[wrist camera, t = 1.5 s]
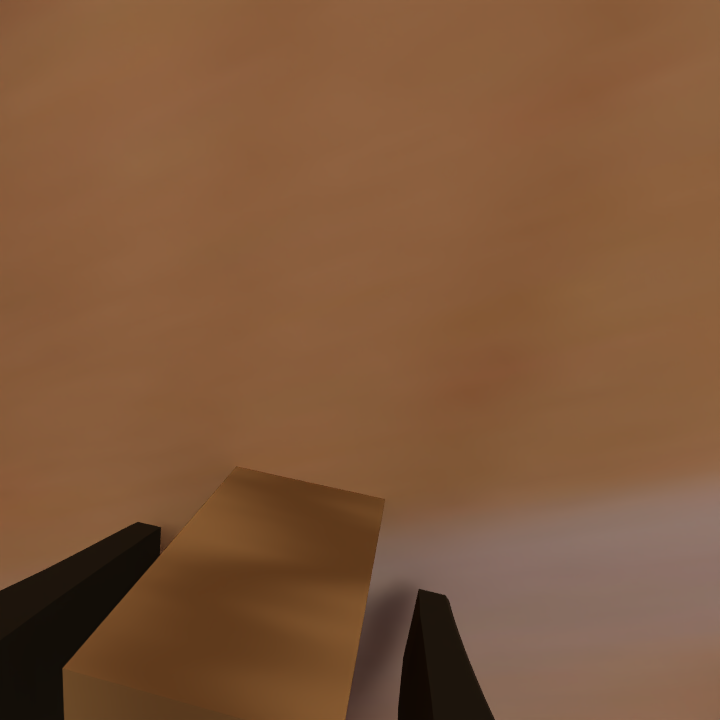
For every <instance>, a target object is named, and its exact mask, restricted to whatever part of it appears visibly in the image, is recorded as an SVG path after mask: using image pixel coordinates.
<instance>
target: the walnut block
mask: <svg viewBox="0 0 720 720" xmlns="http://www.w3.org/2000/svg"><path fill="white" fill-rule="evenodd" d="M384 503H385V499H382V498H377V497H373V496H368V495H363V494H359V493H354V492H350V491H345V490H341V489H336V488H332V487H327V486H323V485H318V484H313V483H309V482H304V481H300V480H295V479H291V478H286V477H282V476H277V475H273V474H268V473H263V472H259V471H254V470H250V469H245V468H241V467H236V468H235V469H234V470H233V471H232V473H231V474H230V475H229V476H228V477H227V478H226V479H225V481H224V482H223V483H222V484H221V485H220V486H219V488H218V489H217V490H216V491H215V492H214V493H213V495H212V496H211V497H210V498H209V499H208V500H207V501H206V503H205V504H204V505H203V506H202V507H201V508H200V510H199V511H198V512H197V513H196V514H195V515H194V517H193V518H192V519H191V520H190V521H189V522H188V524H187V525H186V526H185V527H184V528H183V529H182V530H181V532H180V533H179V534H178V535H177V536H176V537H175V539H174V540H173V541H172V542H171V543H170V544H169V546H168V547H167V548H166V549H165V550H164V551H163V552H162V554H161V555H160V556H159V557H158V558H157V559H156V561H155V562H154V563H153V564H152V565H151V566H150V568H149V569H148V570H147V571H146V572H145V573H144V575H143V576H142V577H141V578H140V579H139V580H138V581H137V583H136V584H135V585H134V586H133V587H132V588H131V590H130V591H129V592H128V593H127V594H126V595H125V597H124V598H123V599H122V600H121V601H120V602H119V603H118V605H117V606H116V607H115V608H114V609H113V610H112V612H111V613H110V614H109V615H108V616H107V617H106V619H105V620H104V621H103V622H102V623H101V624H100V625H99V627H98V628H97V629H96V630H95V631H94V632H93V634H92V635H91V636H90V637H89V638H88V639H87V641H86V642H85V643H84V644H83V645H82V646H81V648H80V649H79V650H78V651H77V652H76V653H75V654H74V656H73V657H72V658H71V659H70V660H69V661H68V663H67V664H66V665H65V666H64V667H63V668H62V669H63V698H64V720H345V717H346V712H347V706H348V701H349V695H350V690H351V684H352V679H353V673H354V668H355V662H356V657H357V651H358V646H359V640H360V635H361V629H362V624H363V618H364V613H365V607H366V602H367V596H368V591H369V585H370V580H371V574H372V569H373V563H374V558H375V552H376V547H377V541H378V536H379V530H380V525H381V519H382V514H383V508H384Z"/></svg>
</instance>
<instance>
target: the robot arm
mask: <svg viewBox="0 0 720 720" xmlns="http://www.w3.org/2000/svg"><path fill="white" fill-rule="evenodd" d="M160 535H161V527H157V526H153V525H148V524H144V523H140V522H137V523H135V524H133V525H131V526H128V527H126V528H124V529H122V530H121V531H119V532H117V533H115V534H113V535H111V536H109V537H107V538H105V539H103V540H101V541H99V542H98V543H96V544H94V545H92V546H90V547H88V548H86V549H84V550H82V551H80V552H78V553H76V554H75V555H73V556H71V557H69V558H67V559H65V560H63V561H61V562H59V563H57V564H55V565H53V566H51V567H49V568H47V569H45V570H43V571H41V572H39V573H37V574H35V575H33V576H30V577H28V578H26V579H24V580H22V581H20V582H18V583H16V584H14V585H11V586H9V587H7V588H5V589H3V590H1V591H0V720H64V698H63V669H62V668H63V667H64V666H65V665H66V664H67V663H68V661H69V660H70V659H71V658H72V657H73V656H74V654H75V653H76V652H77V651H78V650H79V649H80V648H81V646H82V645H83V644H84V643H85V642H86V641H87V639H88V638H89V637H90V636H91V635H92V634H93V632H94V631H95V630H96V629H97V628H98V627H99V625H100V624H101V623H102V622H103V621H104V620H105V619H106V617H107V616H108V615H109V614H110V613H111V612H112V610H113V609H114V608H115V607H116V606H117V605H118V603H119V602H120V601H121V600H122V599H123V598H124V597H125V595H126V594H127V593H128V592H129V591H130V590H131V588H132V587H133V586H134V585H135V584H136V583H137V581H138V580H139V579H140V578H141V577H142V576H143V575H144V573H145V572H146V571H147V570H148V569H149V568H150V566H151V565H152V564H153V563H154V562H155V561H156V559H157V558H158V557H159V556H160ZM398 720H495V719H494V717H493V715H492V713H491V710H490V708H489V706H488V704H487V702H486V699H485V697H484V695H483V693H482V690H481V688H480V685H479V683H478V681H477V678H476V676H475V673H474V671H473V669H472V666H471V664H470V661H469V659H468V656H467V654H466V651H465V648H464V646H463V643H462V640H461V637H460V635H459V632H458V629H457V626H456V623H455V620H454V617H453V613H452V610H451V606H450V603H449V600H448V599H447V597H446V596H445V595H442V594H438V593H434V592H429V591H425V590H421V589H419V591H418V595H417V599H416V604H415V608H414V613H413V617H412V622H411V626H410V630H409V635H408V639H407V644H406V648H405V652H404V657H403V665H402V675H401V685H400V695H399V706H398Z"/></svg>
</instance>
